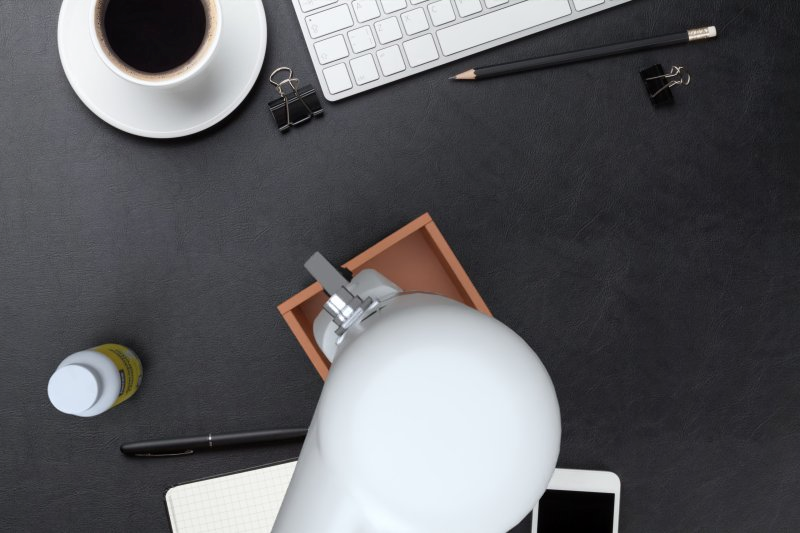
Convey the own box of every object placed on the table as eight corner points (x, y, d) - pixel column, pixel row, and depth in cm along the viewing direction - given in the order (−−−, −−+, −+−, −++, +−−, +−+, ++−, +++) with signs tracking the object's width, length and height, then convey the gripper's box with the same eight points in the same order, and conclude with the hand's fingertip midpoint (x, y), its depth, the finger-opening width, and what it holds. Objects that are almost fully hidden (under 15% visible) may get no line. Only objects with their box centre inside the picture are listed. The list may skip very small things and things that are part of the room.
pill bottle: (144, 401, 83) (108, 424, 71) (84, 402, 82) (37, 425, 71) (144, 341, 83) (107, 354, 71) (83, 342, 82) (37, 355, 71)
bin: (504, 349, 60) (521, 361, 53) (371, 434, 60) (372, 456, 53) (420, 217, 60) (427, 211, 53) (287, 301, 59) (276, 306, 53)
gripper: (216, 302, 33) (270, 288, 51) (498, 568, 34) (453, 462, 52) (335, 180, 34) (346, 208, 52) (612, 446, 34) (528, 382, 52)
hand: (400, 336), depth 52 cm, fingers closed on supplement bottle, 6 cm apart
